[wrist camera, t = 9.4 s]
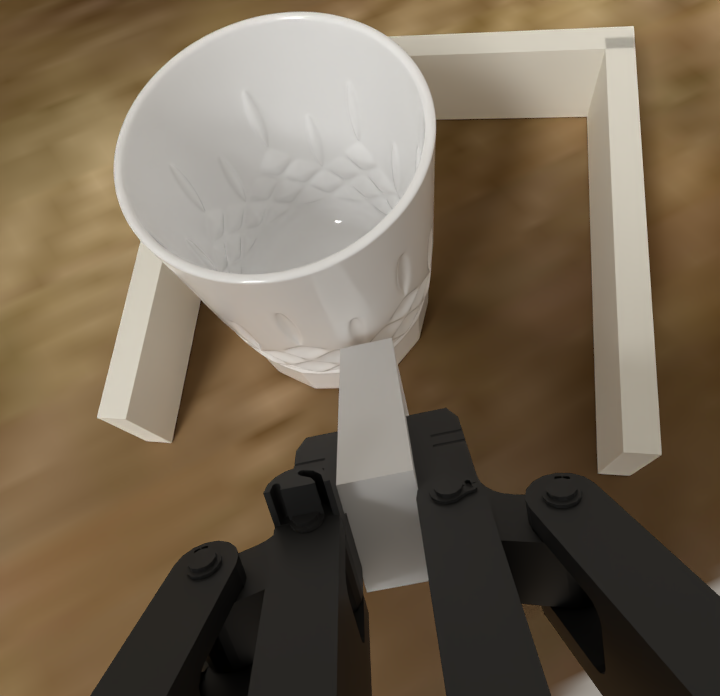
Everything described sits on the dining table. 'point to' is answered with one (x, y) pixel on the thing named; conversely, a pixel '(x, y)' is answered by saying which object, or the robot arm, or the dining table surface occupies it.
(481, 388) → the dining table surface
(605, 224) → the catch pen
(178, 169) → the white cup
